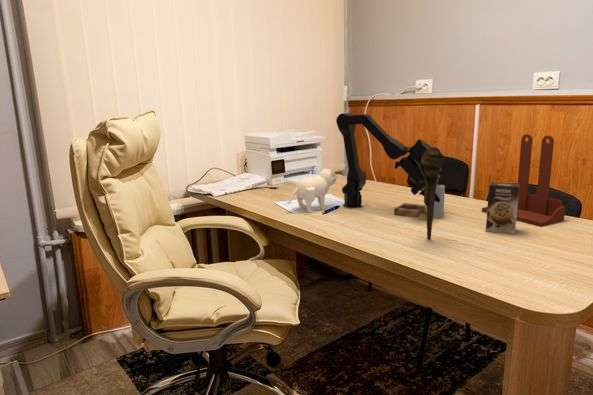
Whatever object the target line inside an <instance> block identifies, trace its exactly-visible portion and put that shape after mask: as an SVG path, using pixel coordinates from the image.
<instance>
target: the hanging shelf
mask: <svg viewBox="0 0 593 395" xmlns="http://www.w3.org/2000/svg"><path fill="white" fill-rule="evenodd" d="M526 138H527V139H528V140H526ZM547 140H549V142H547ZM554 144H555V139H554V137H553V136H551V135H545V136H544V137H542V139H541V145H540V157H539V167H538V176H537V178H538V179H537V189H536V194H530V193H529V184H530V183H529V182H530V181H529V180H530V171H531V163H532V162H531V161H532V159H531V158H532V149H533V136H532V135H531V134H528V133H527V134H523V135H522V137H521V138H520V151H519V160H518V161H519V163H518V175H517V184H520V187H519V197H518V208H517V218H516V222H521V223H524V224H527V225H532V226H535V227H540V228H541V227H546V226H549V225H553V224H556V223H561V222H564V221H565V214H566V206H565V205H563V202H562V201H561V200H560V199H557V198H551V197H549V195H550V185H551V177H552V176H551V175H552V166H553V164H552V163H553V155H554ZM487 207H488V206H485V207H481V213H484V214H485V213H486V214H487Z"/></svg>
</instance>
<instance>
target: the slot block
mask: <svg viewBox="0 0 593 395" xmlns="http://www.w3.org/2000/svg"><path fill="white" fill-rule="evenodd" d="M393 211H394V216H400V217H407V218H415V219H417V218H419V217H420V213H423V214H424V213H425V212H427V209H426V205H425V204H417V203H410V202H409V203H406V202H404V203H401V204H400V205H398V206H397V207H394V208H393Z"/></svg>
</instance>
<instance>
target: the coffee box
mask: <svg viewBox="0 0 593 395" xmlns="http://www.w3.org/2000/svg"><path fill="white" fill-rule="evenodd" d="M519 187H520V184H518V182H517V183H514V182H498V181H490V183H489V185H488V194H487V195H488V197H487V198H488V199H487V206H486V207H487V213H486V220H485V221H486V222H485V223H486V224H485V231H484V232H489V233H490V232H492V233H498V234H499V233H500V234H509V235H515V234H516V228H517V227H516V226H517V221H516V218H517V208H518V197H519Z"/></svg>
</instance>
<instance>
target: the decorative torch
mask: <svg viewBox="0 0 593 395" xmlns="http://www.w3.org/2000/svg"><path fill="white" fill-rule="evenodd" d="M444 161H445V156H444V155H443V153H442V152H441V150H440V149H439V148H438V147H434V146H431V148H428V149H427V150H426V151H425V152H424V154H423V155H422V158H421V161H420V166H421V170H422V173H423V176H424V179H425V188H424V196H423V203H424V205H426V239H427V240H429V241H430V240H431V239H432V229H433V219H434V218H433V211H434V202H435V192H436V183H437V180H438V179H437V176H438V174H439V175H440V172H441V171H440V168H441V169H442V167H443V165H444ZM439 171H440V172H439ZM425 175H426V176H425Z"/></svg>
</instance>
